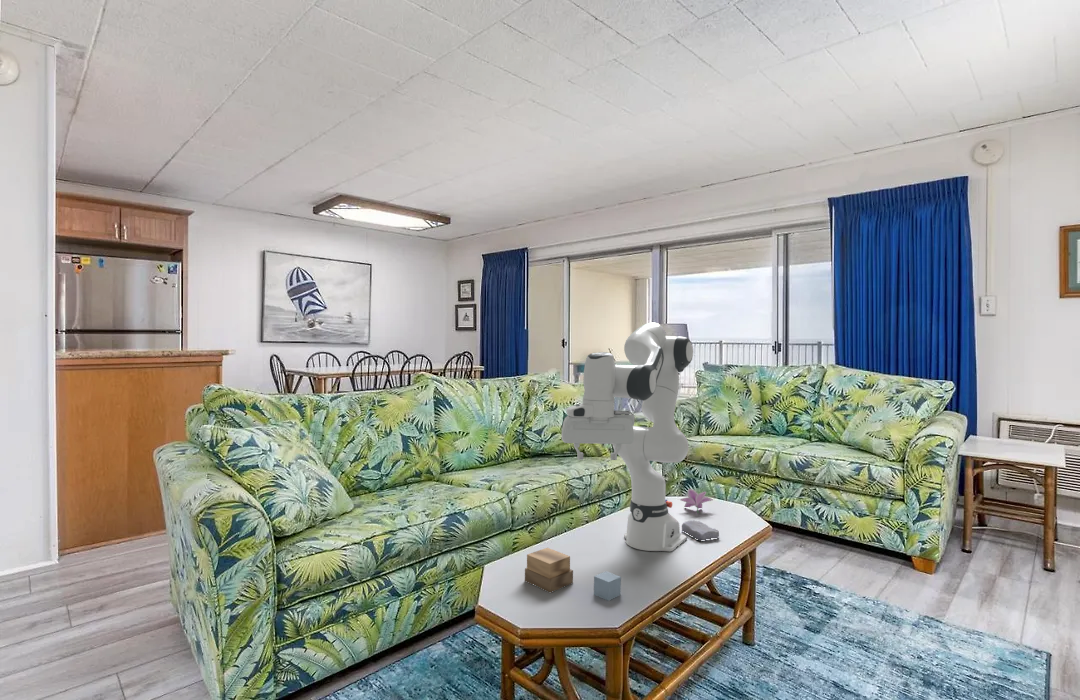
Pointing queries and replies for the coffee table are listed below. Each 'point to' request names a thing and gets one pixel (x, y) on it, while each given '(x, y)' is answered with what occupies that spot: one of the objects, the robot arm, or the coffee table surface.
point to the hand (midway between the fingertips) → (596, 459)
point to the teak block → (548, 562)
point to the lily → (695, 499)
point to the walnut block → (549, 580)
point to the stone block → (699, 530)
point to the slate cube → (607, 585)
